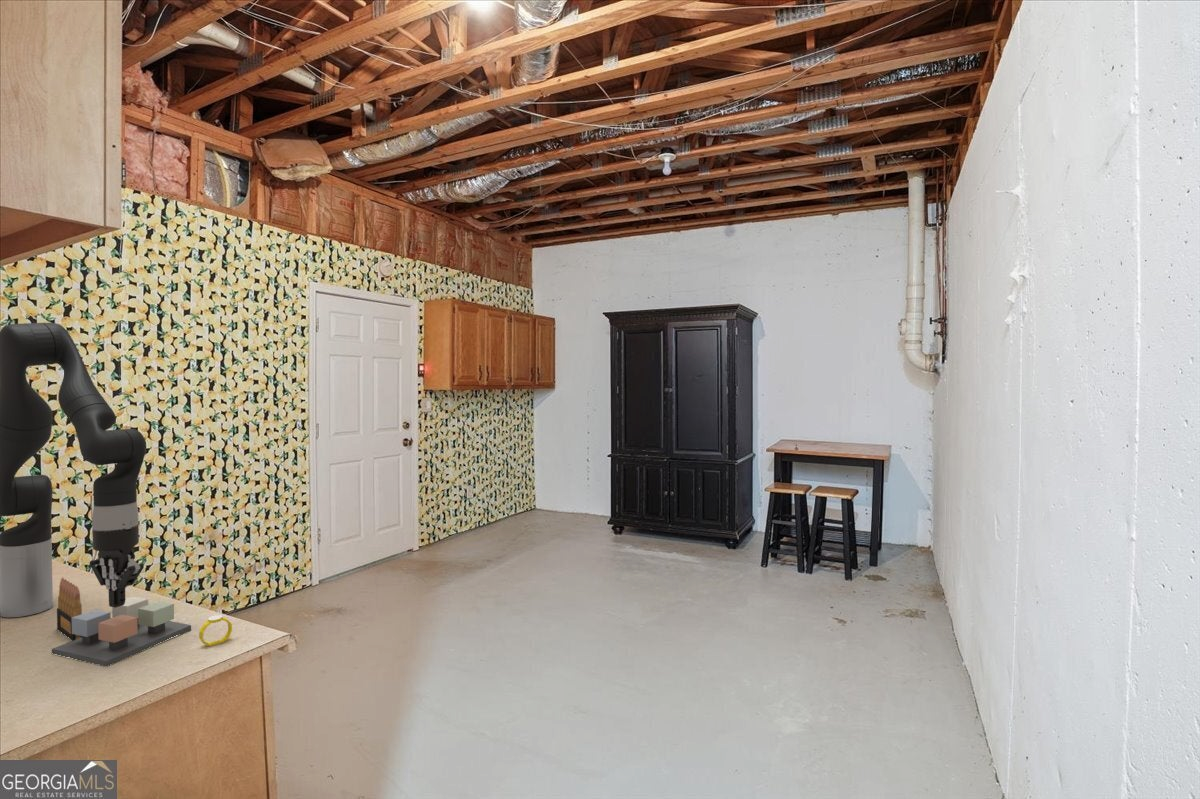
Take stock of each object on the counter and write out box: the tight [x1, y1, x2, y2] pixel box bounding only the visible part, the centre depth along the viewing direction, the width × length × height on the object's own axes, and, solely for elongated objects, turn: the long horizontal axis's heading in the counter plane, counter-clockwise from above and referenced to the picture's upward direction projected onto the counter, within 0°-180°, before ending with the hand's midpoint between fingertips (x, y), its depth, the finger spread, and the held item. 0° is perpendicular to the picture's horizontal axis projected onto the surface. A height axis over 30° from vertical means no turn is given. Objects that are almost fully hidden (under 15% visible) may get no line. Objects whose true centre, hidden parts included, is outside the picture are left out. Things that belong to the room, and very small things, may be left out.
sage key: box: [138, 600, 175, 627], centre depth 132 cm, size 5×5×4 cm
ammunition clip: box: [56, 577, 83, 641], centre depth 133 cm, size 11×2×12 cm, turn 57°
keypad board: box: [51, 618, 192, 667], centre depth 130 cm, size 16×18×4 cm
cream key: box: [111, 596, 149, 618], centre depth 135 cm, size 5×5×4 cm
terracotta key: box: [98, 615, 138, 643], centre depth 125 cm, size 5×5×4 cm
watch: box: [198, 614, 233, 647], centre depth 130 cm, size 6×3×6 cm, turn 139°
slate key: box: [72, 609, 112, 637], centre depth 127 cm, size 5×5×4 cm
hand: (117, 605), depth 124 cm, fingers closed
